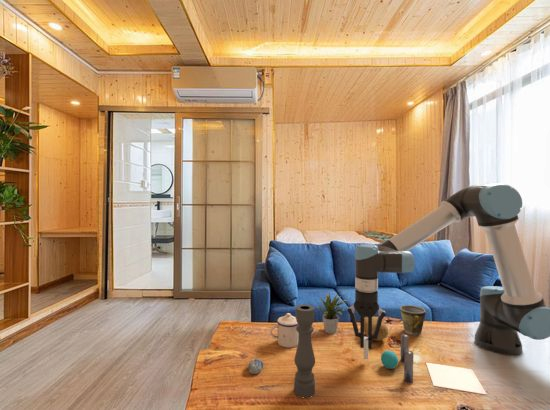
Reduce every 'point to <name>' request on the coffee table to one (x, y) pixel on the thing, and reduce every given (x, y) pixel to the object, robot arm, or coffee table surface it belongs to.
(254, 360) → the decorative stone
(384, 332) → the potato
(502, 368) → the coffee table surface
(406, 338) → the post
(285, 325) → the teacup with lid
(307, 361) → the candle holder
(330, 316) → the house plant
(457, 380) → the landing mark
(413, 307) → the ceramic cup
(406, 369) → the post
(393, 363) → the ball
